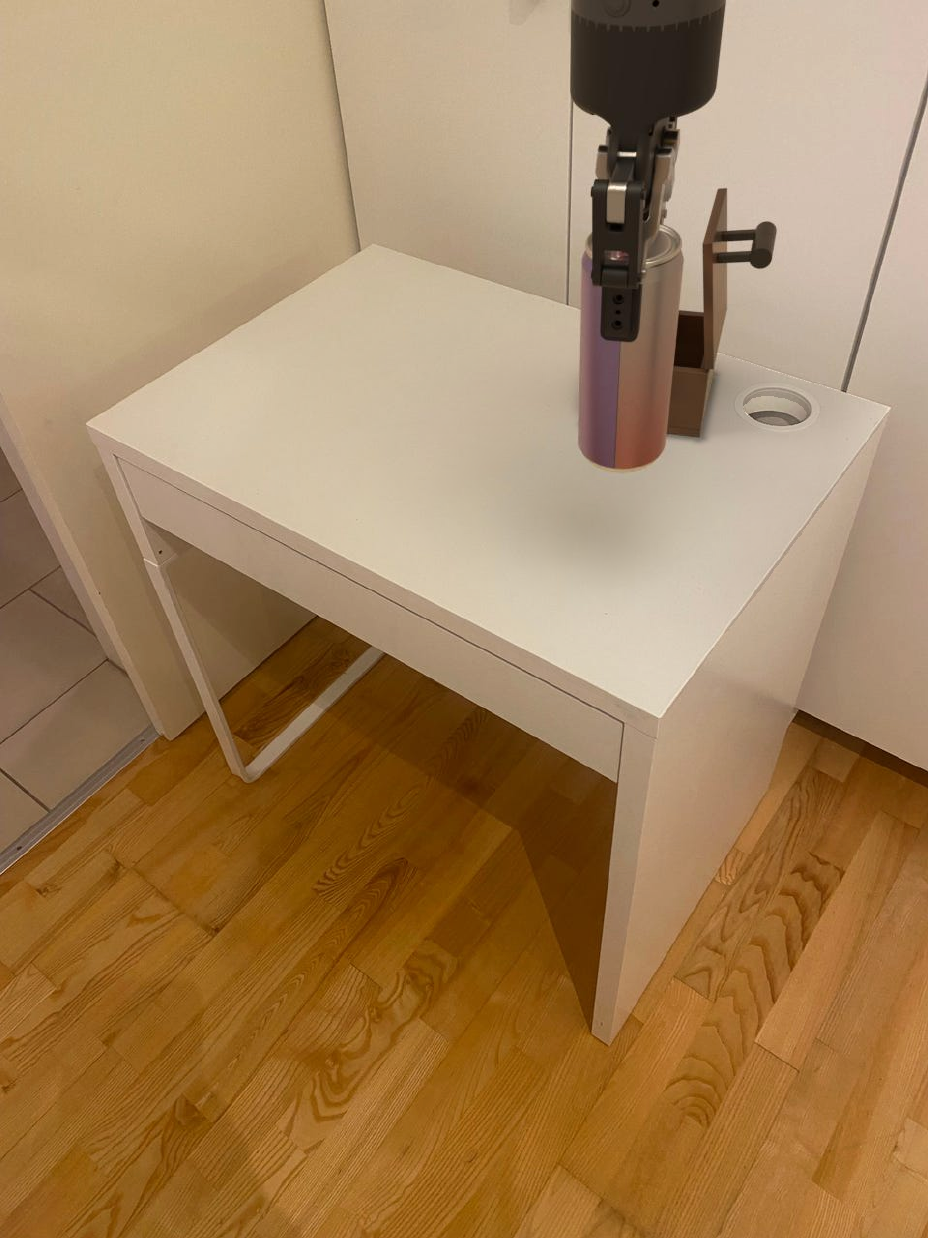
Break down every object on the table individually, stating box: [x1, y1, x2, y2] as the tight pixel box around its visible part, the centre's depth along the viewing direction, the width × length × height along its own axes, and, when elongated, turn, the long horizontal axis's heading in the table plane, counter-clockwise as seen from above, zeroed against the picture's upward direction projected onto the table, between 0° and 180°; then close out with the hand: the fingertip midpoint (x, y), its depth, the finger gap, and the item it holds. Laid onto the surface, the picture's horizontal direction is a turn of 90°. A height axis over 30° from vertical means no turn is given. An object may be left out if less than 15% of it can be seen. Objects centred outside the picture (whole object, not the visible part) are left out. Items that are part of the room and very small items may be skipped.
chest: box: [667, 309, 715, 438], centre depth 91 cm, size 11×11×7 cm
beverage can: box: [577, 221, 685, 474], centre depth 61 cm, size 6×6×15 cm
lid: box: [701, 187, 778, 370], centre depth 83 cm, size 11×11×5 cm
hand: (629, 309), depth 59 cm, fingers closed on beverage can, 6 cm apart
